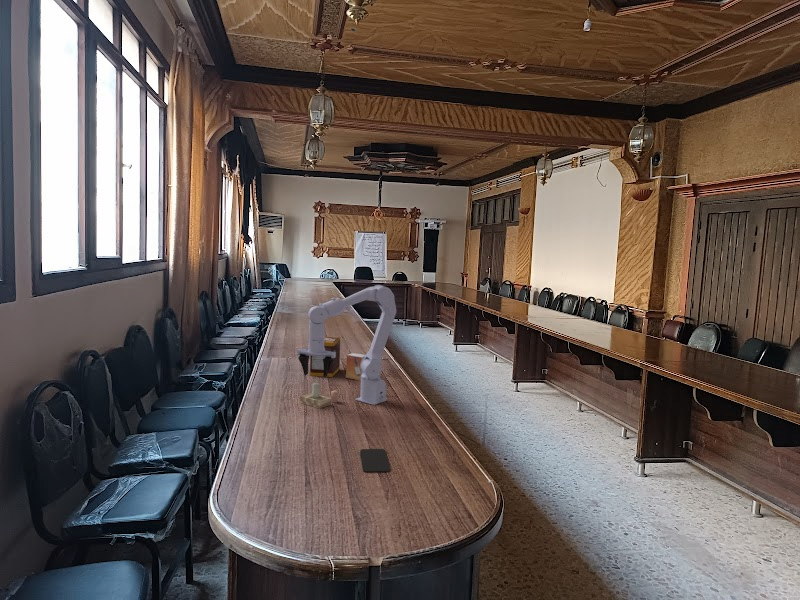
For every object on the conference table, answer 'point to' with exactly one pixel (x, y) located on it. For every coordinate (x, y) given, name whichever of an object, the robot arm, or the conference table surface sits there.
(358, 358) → the small box
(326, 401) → the hole plate
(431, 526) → the conference table surface
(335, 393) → the short pin
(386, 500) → the conference table surface
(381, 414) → the conference table surface
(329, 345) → the supplement box
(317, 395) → the long pin
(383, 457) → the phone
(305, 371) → the robot arm
